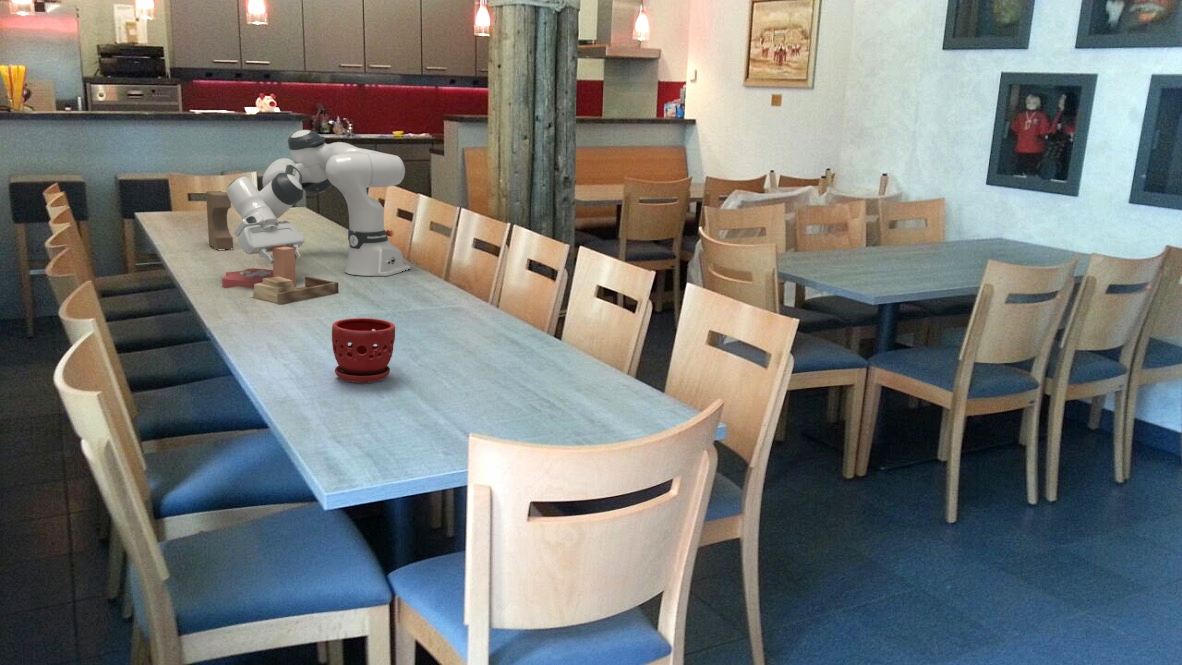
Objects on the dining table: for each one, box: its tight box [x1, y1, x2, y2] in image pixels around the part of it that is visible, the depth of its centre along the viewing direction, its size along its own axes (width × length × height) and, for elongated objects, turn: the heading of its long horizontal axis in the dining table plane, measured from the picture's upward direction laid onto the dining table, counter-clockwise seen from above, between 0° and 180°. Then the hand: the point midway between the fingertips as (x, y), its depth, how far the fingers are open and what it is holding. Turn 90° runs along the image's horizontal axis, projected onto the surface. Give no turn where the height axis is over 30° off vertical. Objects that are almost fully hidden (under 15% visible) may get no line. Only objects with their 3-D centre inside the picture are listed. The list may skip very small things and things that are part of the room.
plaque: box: [221, 267, 273, 289], centre depth 286 cm, size 18×4×15 cm
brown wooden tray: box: [249, 276, 340, 305], centre depth 269 cm, size 21×13×4 cm, turn 147°
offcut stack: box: [252, 277, 295, 304], centre depth 263 cm, size 7×11×6 cm, turn 57°
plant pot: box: [331, 317, 396, 384], centre depth 201 cm, size 13×13×12 cm
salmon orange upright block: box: [272, 246, 297, 288], centre depth 278 cm, size 4×5×12 cm
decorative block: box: [205, 190, 234, 250], centre depth 338 cm, size 11×6×20 cm, turn 36°
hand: (285, 260), depth 277 cm, fingers open, 8 cm apart
